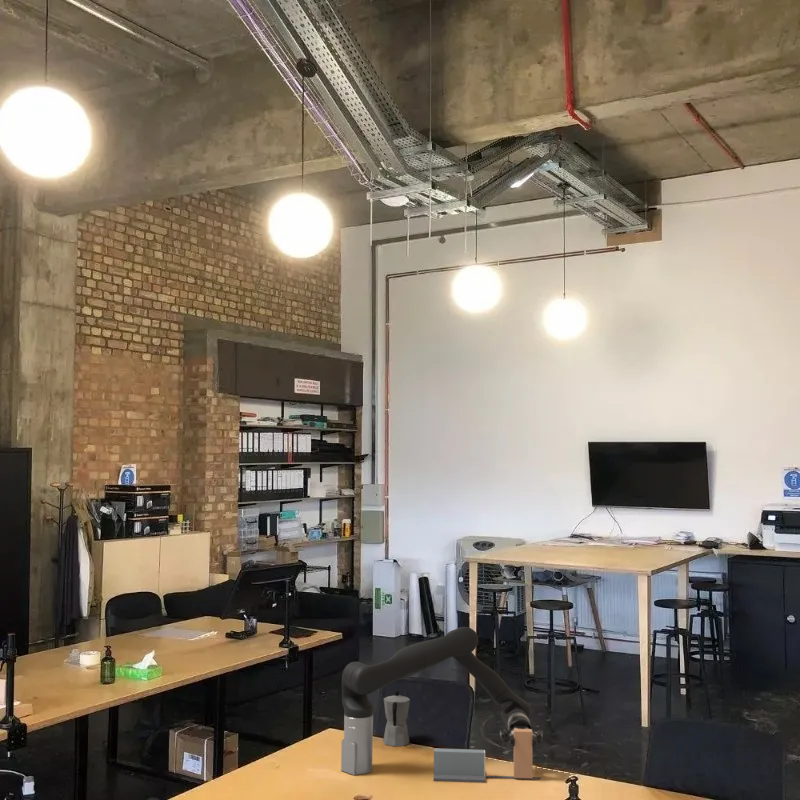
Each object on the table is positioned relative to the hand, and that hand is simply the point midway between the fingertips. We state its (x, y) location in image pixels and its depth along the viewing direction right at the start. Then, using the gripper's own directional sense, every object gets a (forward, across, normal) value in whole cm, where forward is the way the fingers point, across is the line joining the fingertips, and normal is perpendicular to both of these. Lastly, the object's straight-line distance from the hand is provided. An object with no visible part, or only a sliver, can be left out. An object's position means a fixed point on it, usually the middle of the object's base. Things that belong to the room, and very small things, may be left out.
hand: (523, 742), depth 266 cm
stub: (-3, 0, +12) cm, 12 cm away
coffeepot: (-33, -42, +12) cm, 55 cm away
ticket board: (-3, -11, +11) cm, 16 cm away
